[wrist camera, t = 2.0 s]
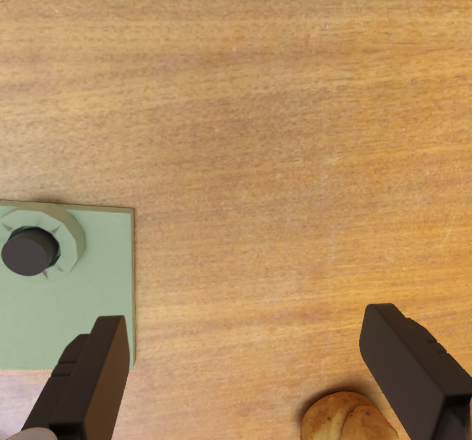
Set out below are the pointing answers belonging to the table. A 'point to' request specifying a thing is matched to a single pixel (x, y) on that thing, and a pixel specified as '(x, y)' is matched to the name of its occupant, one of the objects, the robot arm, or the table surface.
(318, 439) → the bread roll
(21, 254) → the button
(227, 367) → the table surface
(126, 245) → the scale
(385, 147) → the table surface
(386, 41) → the table surface
